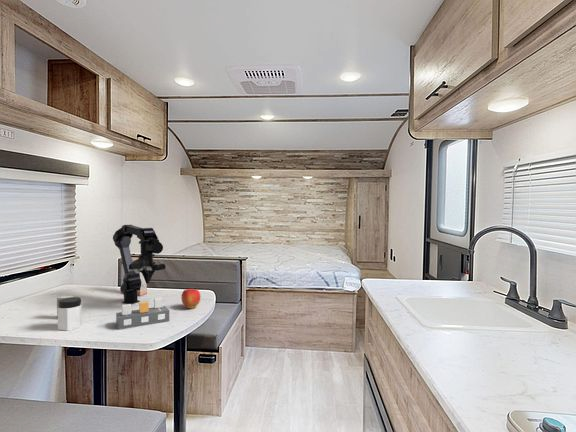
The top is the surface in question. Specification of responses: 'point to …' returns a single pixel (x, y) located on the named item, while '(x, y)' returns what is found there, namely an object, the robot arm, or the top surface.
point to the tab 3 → (158, 302)
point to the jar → (69, 313)
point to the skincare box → (60, 299)
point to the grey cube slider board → (142, 317)
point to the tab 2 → (143, 307)
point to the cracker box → (143, 285)
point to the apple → (190, 298)
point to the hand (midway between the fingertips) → (147, 283)
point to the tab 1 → (126, 309)
